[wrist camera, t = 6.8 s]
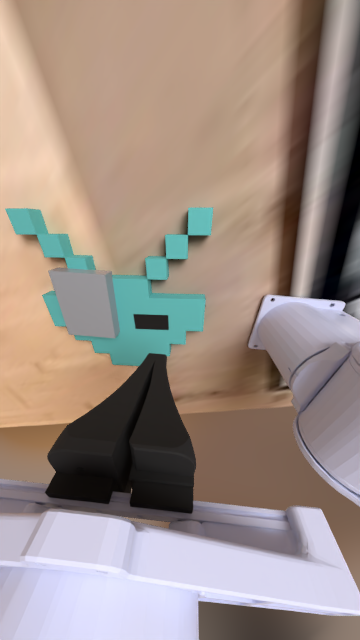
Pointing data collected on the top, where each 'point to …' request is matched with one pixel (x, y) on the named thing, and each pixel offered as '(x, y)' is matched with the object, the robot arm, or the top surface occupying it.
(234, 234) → the top surface
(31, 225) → the alien figure
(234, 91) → the top surface
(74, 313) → the tile
